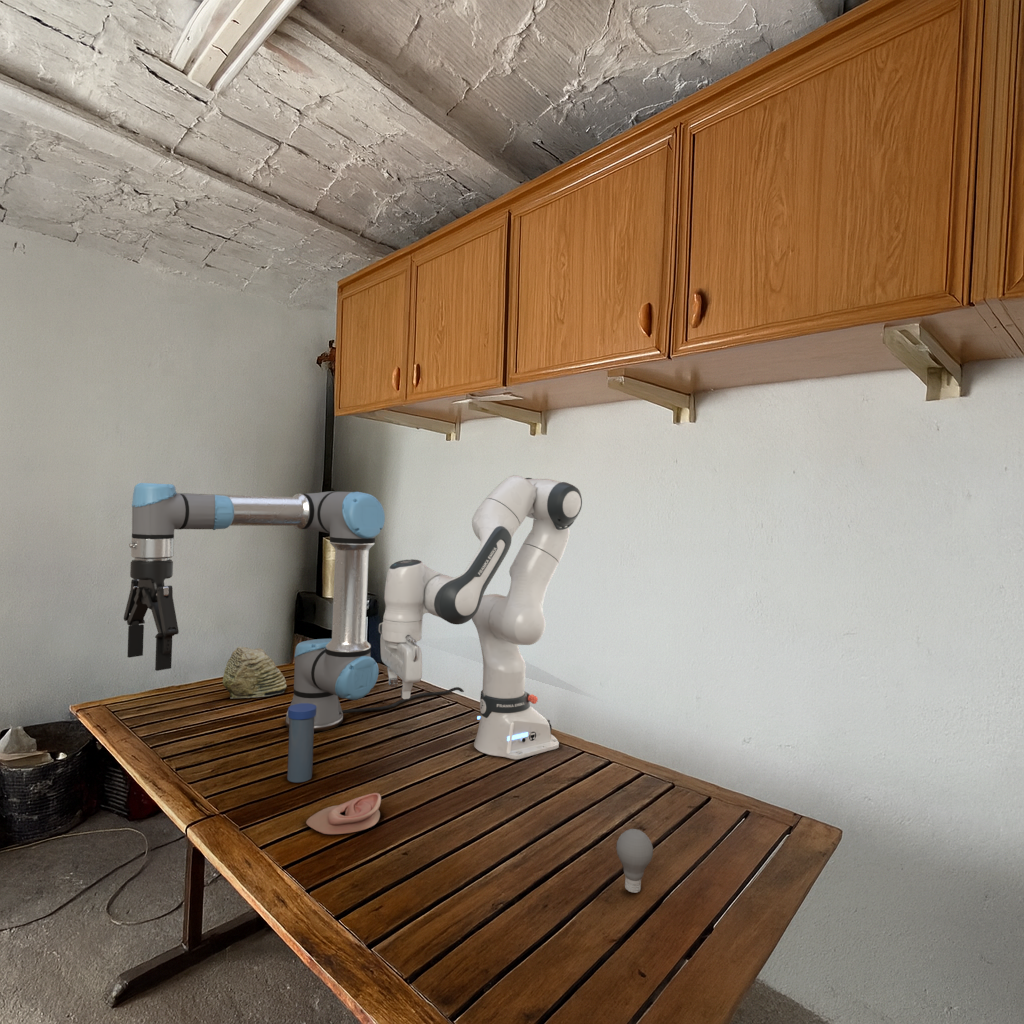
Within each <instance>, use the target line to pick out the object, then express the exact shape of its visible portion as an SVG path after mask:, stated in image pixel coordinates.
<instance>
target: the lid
mask: <svg viewBox="0 0 1024 1024" xmlns="http://www.w3.org/2000/svg"><path fill="white" fill-rule="evenodd" d="M287 711H288V717H289V718H291V719H295V720H304V719H309V718H312V717H314V716H316V705H314V704H309V703H300V704H295V705H292V706H290V705H289V706H288V708H287Z"/></svg>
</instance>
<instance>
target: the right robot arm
mask: <svg viewBox="0 0 1024 1024" xmlns="http://www.w3.org/2000/svg"><path fill="white" fill-rule="evenodd" d="M582 507H583V499H582V494H581V491H580V489H578V487H577V486H576V485H573V484H571V483H569V482H566V481H559V480H556V479H550V478H532V477H523V476H522V475H515V474H513V475H510V476H508V477H506V478H505V479H504V480H503V481H501V482H500V483H499V484H498V485H497V486H496V487H494V489H493V490H492V491H491V492H490V493H489V494H488V495H487V497H485V498H484V500H483V501H482V502H481V503H480V504H479V506H478V507H477V509H476V510H475V512H474V514H473V516H472V518H471V526H472V530H473V533H474V535H475V537H476V538H477V539H478V540H479V541H480V543H479V544H480V545H479V548H478V550H477V551H476V553H475V554H474V556H473V558H471V561H469V563H468V565H467V567H466V569H465V570H464V571H463V572H462V573H461V574H460V575H458V576H454V577H453V576H449V575H446V574H444V573H440V572H438V571H436V570H434V569H432V568H430V567H429V566H427V565H426V564H424V562H422V560H419V559H415V558H414V559H413V558H411V559H402V560H398V561H395V562H394V563H391V565H390V566H389V568H388V569H387V572H386V578H385V585H384V604H385V610H384V613H383V617H382V618H383V619H382V622H380V623H379V624H378V633H379V634H380V643H379V645H380V648H379V649H380V660H381V662H382V663H383V664H384V665H385V666H386V667H387V669H386V670H387V676H388V685H389V686H390V687H391V688H396V687H398V685H399V683H398V682H399V678H400V679H401V680H402V681H401V684H402V686H401V689H400V697H401V698H402V699H409V698H410V696H411V694H412V693H411V692H412V689H413V686H414V683H420V682H421V680H422V677H423V654H422V648H421V647H420V645H418V644H417V643H418V642H420V641H421V640H422V637H423V636H422V635H423V619H424V615H425V614H429V615H430V614H431V615H433V616H435V617H437V618H441V619H442V620H444V621H446V622H447V623H449V624H452V625H463V624H465V623H467V622H470V620H472V623H473V624H474V626H475V628H476V631H477V635H478V640H479V645H480V649H481V655H482V689H481V691H480V699H479V713H480V715H477V717H476V719H477V720H479V722H478V729H477V732H476V736H475V739H474V742H473V747H474V748H475V750H477V751H478V752H480V753H483V754H485V755H489V756H494V757H503V758H507V759H510V760H520V759H525V758H528V757H531V756H536V755H538V754H542V753H543V754H544V753H546V752H550V751H553V750H556V749H559V748H560V742H559V740H558V739H557V737H556V736H555V735H553V734H552V730H553V729H552V728H553V726H552V724H551V721H550V719H548V718H546V717H545V716H544V715H542V714H541V713H540V712H539V711H538V710H536V708H534V707H532V705H531V704H533V705H536V704H537V703H538V698H539V697H537V695H535V694H533V693H531V694H530V693H528V692H527V691H526V690H525V689H526V670H527V667H526V666H527V665H526V661H525V659H524V657H523V655H522V653H521V651H520V648H519V646H531V645H534V644H536V643H538V642H539V641H540V640H541V639H542V637H543V636H544V634H545V631H546V624H547V623H546V617H545V614H544V601H545V596H546V593H547V589H548V587H549V585H550V582H551V581H552V578H553V576H554V574H555V572H556V570H557V568H558V566H559V564H560V562H561V560H562V558H563V556H564V553H565V551H566V548H567V545H568V542H569V538H570V533H571V531H570V527H571V526H572V525H573V524H574V522H575V521H576V520H577V518H578V516H579V514H580V513H581V510H582ZM526 518H530V519H533V521H532V527H531V530H530V532H528V534H527V536H526V538H525V539H524V541H523V543H522V545H521V546H520V548H519V550H518V552H517V553H516V556H515V557H514V560H513V561H512V563H511V565H510V567H509V571H508V573H509V576H510V585H509V590H508V593H507V595H506V596H505V595H502V594H498V593H490V594H485V592H486V590H487V588H488V586H489V584H490V583H491V581H492V579H493V578H494V576H495V575H496V572H497V571H498V570H499V568H500V566H501V565H502V563H503V562H504V559H505V558H506V556H507V554H508V553H509V550H510V548H511V545H512V539H513V536H514V535H515V533H516V532H517V530H518V529H519V528H520V526H521V525H522V524H523V523H524V521H525V519H526Z"/></svg>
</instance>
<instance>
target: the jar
mask: <svg viewBox="0 0 1024 1024" xmlns="http://www.w3.org/2000/svg"><path fill="white" fill-rule="evenodd" d="M314 718H315V716H314V717H312V718H309V719H304V720H295V719H291V718H289V728H288V745H287V746H288V747H287V771H286V772H287V773H286V779H287V781H288V782H290V783H296V784H297V783H298V784H299V783H305V782H308V781H310V780H311V779H312V778H313V768H314V743H315V742H314V741H315V740H314V739H315V732H314Z"/></svg>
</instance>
